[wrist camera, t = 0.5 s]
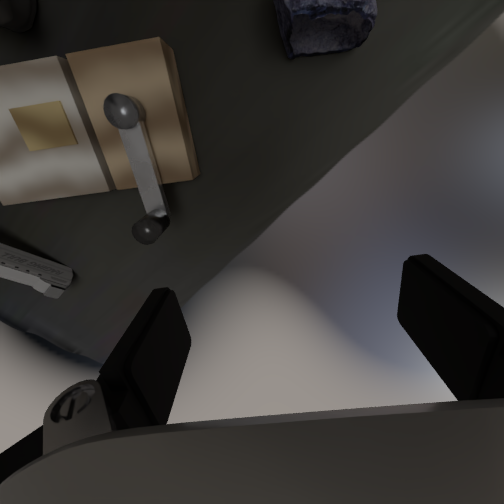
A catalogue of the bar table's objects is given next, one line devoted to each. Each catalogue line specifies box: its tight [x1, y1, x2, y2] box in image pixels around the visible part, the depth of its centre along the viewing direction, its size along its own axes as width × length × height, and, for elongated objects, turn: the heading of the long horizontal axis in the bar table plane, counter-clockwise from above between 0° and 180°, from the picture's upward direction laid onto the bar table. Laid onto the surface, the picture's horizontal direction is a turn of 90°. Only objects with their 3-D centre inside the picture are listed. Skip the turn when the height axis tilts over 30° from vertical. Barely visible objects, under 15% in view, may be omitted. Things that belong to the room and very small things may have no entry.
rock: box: [273, 0, 377, 59], centre depth 23 cm, size 10×6×10 cm, turn 90°
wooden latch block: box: [0, 37, 200, 206], centre depth 30 cm, size 14×26×5 cm, turn 98°
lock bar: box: [103, 93, 171, 245], centre depth 27 cm, size 15×3×6 cm, turn 8°
